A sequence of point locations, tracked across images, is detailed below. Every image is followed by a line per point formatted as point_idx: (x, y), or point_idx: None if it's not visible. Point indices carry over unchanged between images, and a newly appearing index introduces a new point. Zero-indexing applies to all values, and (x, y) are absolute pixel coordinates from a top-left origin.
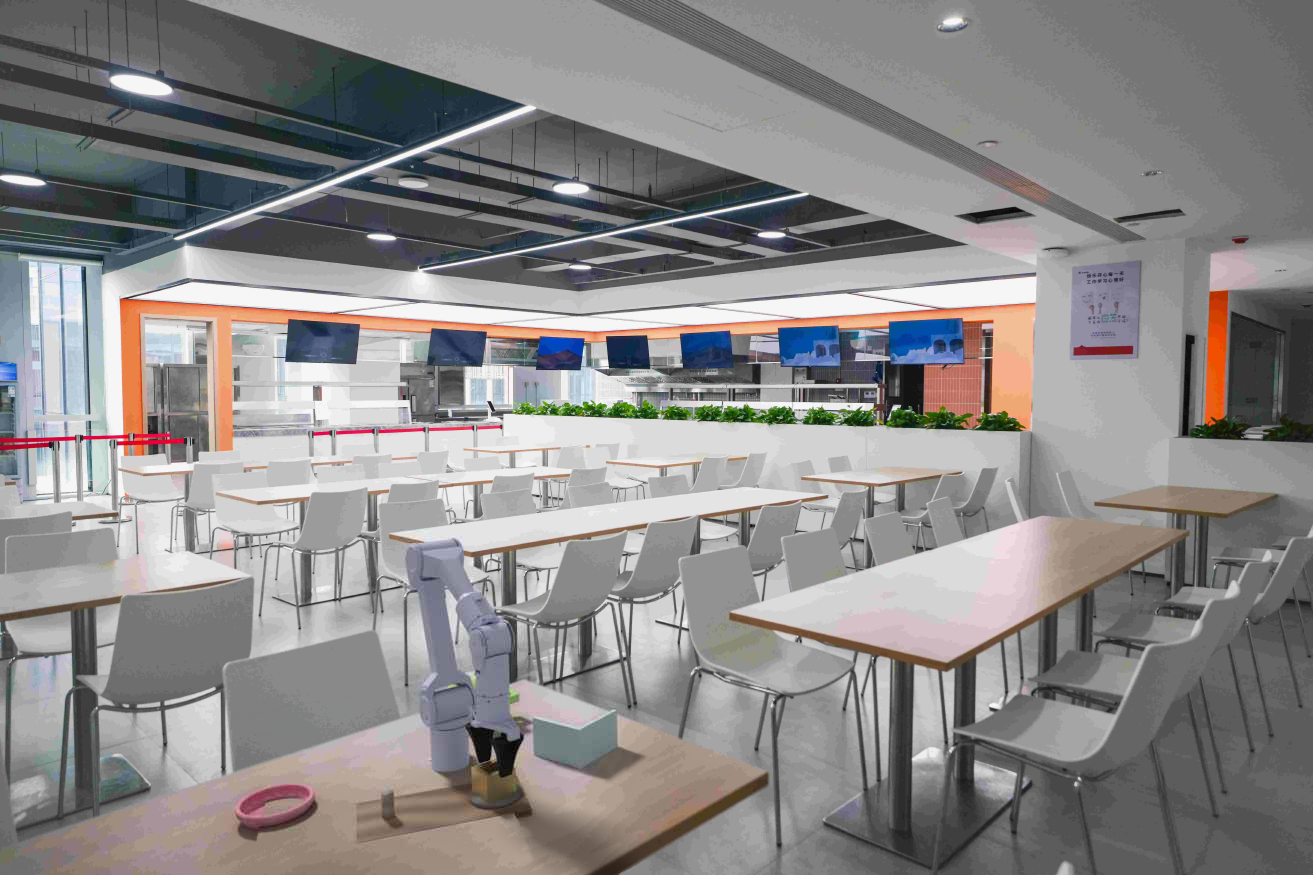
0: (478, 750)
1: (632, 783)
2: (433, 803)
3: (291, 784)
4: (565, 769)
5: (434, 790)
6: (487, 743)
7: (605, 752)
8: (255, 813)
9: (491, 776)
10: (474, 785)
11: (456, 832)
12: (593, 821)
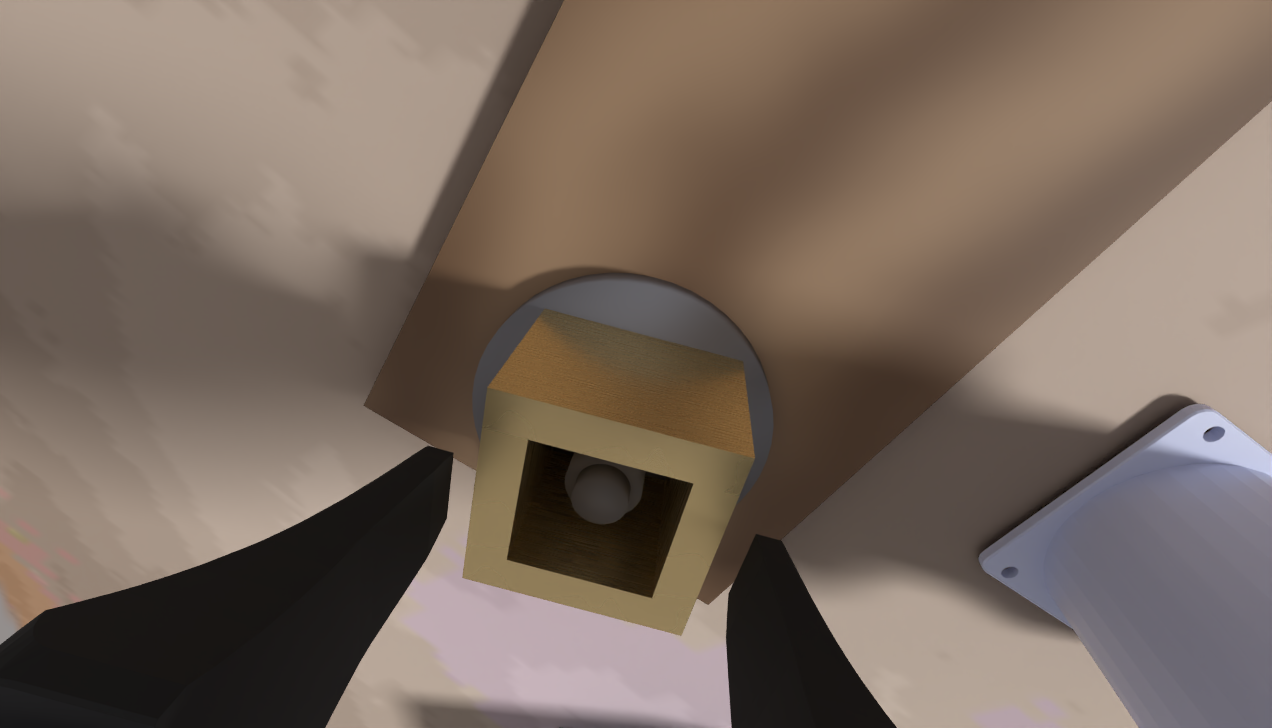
0: (774, 617)
1: None
2: (918, 145)
3: None
4: (601, 707)
5: (1047, 283)
6: (747, 714)
7: None
8: None
9: (486, 419)
10: (707, 376)
11: (528, 10)
12: (159, 467)
